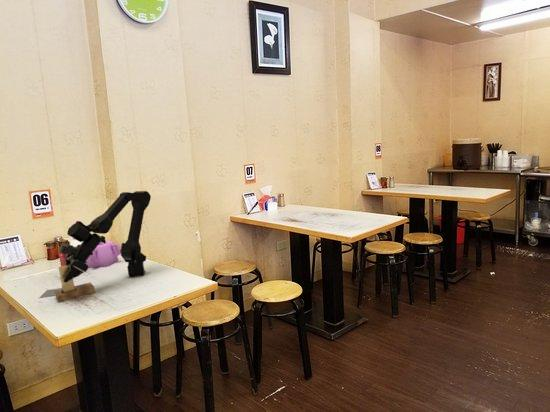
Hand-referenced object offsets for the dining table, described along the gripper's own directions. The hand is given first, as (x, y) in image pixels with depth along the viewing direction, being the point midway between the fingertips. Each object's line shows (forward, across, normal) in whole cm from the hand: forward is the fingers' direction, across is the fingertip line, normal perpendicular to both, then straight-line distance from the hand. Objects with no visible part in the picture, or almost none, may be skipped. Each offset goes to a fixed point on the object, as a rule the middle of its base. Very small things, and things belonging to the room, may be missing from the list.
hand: (62, 279), depth 168 cm
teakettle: (-10, -45, +22) cm, 51 cm away
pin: (+5, 0, +7) cm, 8 cm away
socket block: (+3, 0, +8) cm, 9 cm away
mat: (+8, -11, +4) cm, 14 cm away
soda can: (+1, -32, +10) cm, 34 cm away
